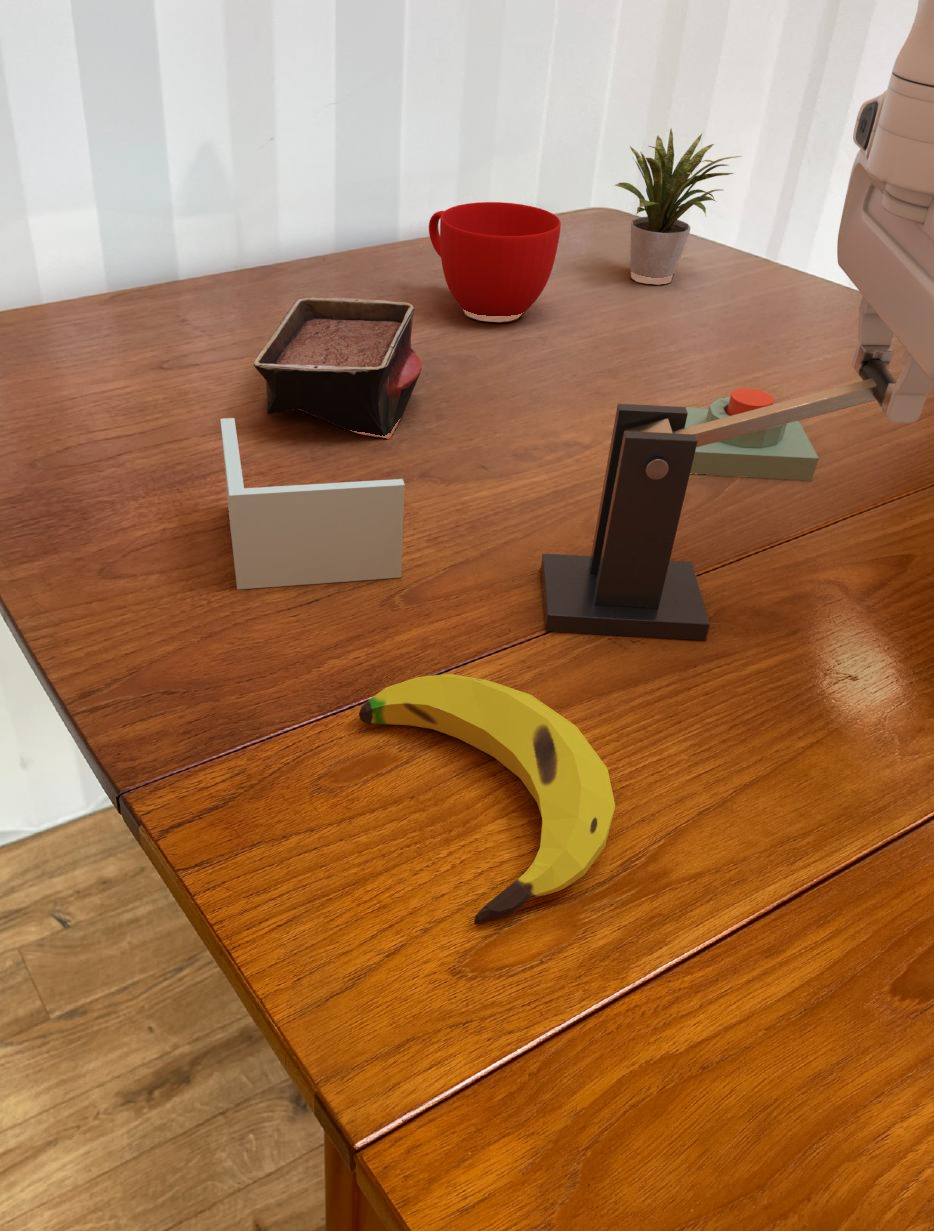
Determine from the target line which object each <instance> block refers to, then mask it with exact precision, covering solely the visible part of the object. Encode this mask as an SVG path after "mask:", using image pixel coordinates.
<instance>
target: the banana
mask: <svg viewBox="0 0 934 1231" xmlns="http://www.w3.org/2000/svg"><path fill="white" fill-rule="evenodd" d="M358 716H359V720H360V721H362V722H363V723H364V724H366V725H368V726H370V725H373V724H380V725H395V726H396V725H398V726H411V727H418V728H424V729H431V730H434V731H437V732H439V733H443V734H445V735H448V736H451V737H452V738H456V739H458V740H460V741H463V742H465V743H466V744H468V745H470V746H471V747H474V748H475V749H478V750H479V751H482V752H484V753H485V754H487V755H489V756H491V757H493V758H494V759H496V760H497V761H498V762H499V763H500V764H502V765H503V766H504V767H505V768H507V769H508V771H510V772H511V773H512V774H514V775H515V776H516V777H517V778H519V779H520V781H521V782H522V783H523V784H524V786H525V788H526V789H527V790H528V792H529V793H530V795H531V796H532V798H533V799H534V801H535V802H536V803H537V804H536V805H537V806H538V811H539V812H540V816H541V820H542V822H541V831H540V832H541V833H540V834H541V835H540V843H539V844H540V845H539V849H538V851H537V853H536V856H535V858H534V860H533V861H532V862H531V864H530V866H529V867H528V868H527V870H526V871H525V872H524V873H522V875H521V876H519V878H517V879H516V880H515V881H513V882H512V883H511V884H510V885H508V886H507V887H506V888H504V889H503V890H502V891H501V892H499V893H498V894H497V895H496V896H495V897H493V898H492V899H491V900H490V901H488V903H486V904H485V905H484V906H483V907H482V908H481V909H480V910H479V911H478V912H477V913H476V914H475V917H474V921H473V923H474V925H477V926H478V925H479V926H480V925H483V924H486V923H488V922H493V921H497V920H500V919H503V918H505V917H507V916H509V915H512V914H514V913H515V912H516V911H518V910H519V909H520V908H521V907H523V906H524V905H525V904H526V902H528V901H529V900H530V899H532V898H537V897H544V896H547V895H551V894H554V893H557V892H559V891H562V890H564V889H565V888H567V887H569V886H571V885H572V884H573V883H575V882H577V881H578V880H580V879H581V878H582V877H584V876H585V875H586V873H587V872H588V871H589V870H590V868H591V867H592V866H593V865H594V863H595V862H596V860H597V859H598V858H599V856H600V855H601V853H602V852H603V851H604V850H605V848H606V845H607V842H608V837H609V833H610V830H611V826H612V824H613V823H612V822H613V819H614V814H615V809H616V803H615V802H616V801H615V798H614V793H613V788H612V784H611V778H610V774H609V769H608V767H607V766H606V764H605V763H604V762H603V761H602V760H603V759H601V757H600V756H599V755H598V753H597V752H596V751H595V749H594V748H593V746H592V745H591V744H590V742H589V741H588V740H587V739H586V737H585V736H584V734H583V733H582V732H581V729H579V728H578V726H577V725H575V724H574V723H572V722H571V721H570V720H569V719H567V718H565V717H564V716H562V715H561V714H559V713H558V712H557V711H555V710H554V709H552V708H551V707H550V706H548V705H546V704H545V703H544V702H542V701H541V700H539V699H538V698H536V697H535V696H533V695H532V694H530V693H527V692H524V691H521V690H519V689H515V688H512V687H509V686H506V685H504V684H502V683H497V682H495V681H491V680H490V679H489V680H488V679H484V678H477V677H471V676H465V675H461V674H460V675H459V674H453V673H445V674H436V675H435V674H434V675H425V676H424V675H423V676H416V677H414V678H411V679H407V680H405V681H402V682H398V683H396V684H393V685H389V686H387V687H384V688H383V689H381V690H380V691H379V692H377V693H376V694H375V695H374V696H372V697H371V698H370V699H369V700H367V701H366V702H365V703H364V704H363V705H361V707H360V709H359V711H358Z"/></svg>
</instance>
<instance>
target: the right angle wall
mask: <svg viewBox="0 0 934 1231" xmlns="http://www.w3.org/2000/svg"><path fill="white" fill-rule="evenodd" d="M219 420H220V429H221V442H222V453H223V466H224V476H225V478H224V479H225V488H226V501H227V511H229V512H228V519H229V520H230V521H229V527H230V528H229V529H230V538H231V545H232V547H231V548H232V555H233V565H234V574H235V582H236V590H249V589H263V588H264V589H265V588H276V587H277V588H279V587H292V586H305V585H317V584H318V585H319V584H331V583H332V584H333V583H344V582H345V583H346V582H360V581H361V582H362V581H372V580H386V579H387V580H388V579H399V578H402V573H403V572H402V569H403V568H402V567H403V566H402V564H403V546H404V545H403V541H404V516H405V494H406V493H405V492H406V490H405V488H406V485H405V481H404V479H403V478H395V479H393V478H392V479H379V480H377V479H376V480H362V481H361V480H360V481H345V482H344V481H343V482H328V483H326V482H325V483H313V484H312V483H310V484H295V485H277V486H261V487H259V486H258V487H245V484H244V478H243V471H242V463H241V462H242V461H241V456H240V449H239V448H240V447H239V442H238V435H237V427H236V418H235V417H227V418H225V417H224V418H220V419H219Z"/></svg>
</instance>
